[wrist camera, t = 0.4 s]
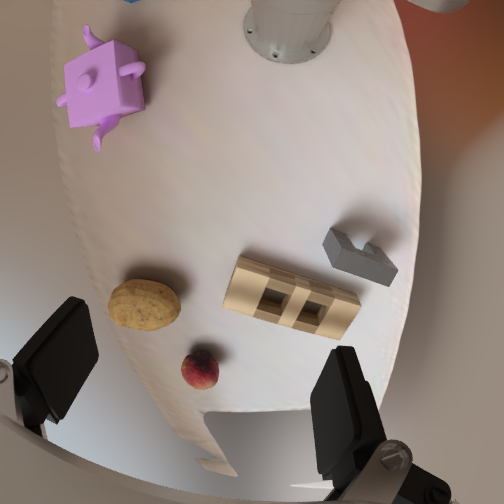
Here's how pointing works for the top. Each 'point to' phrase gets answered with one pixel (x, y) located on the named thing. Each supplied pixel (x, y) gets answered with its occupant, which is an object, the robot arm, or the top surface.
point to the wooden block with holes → (290, 299)
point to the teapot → (102, 85)
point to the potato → (143, 305)
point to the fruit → (200, 370)
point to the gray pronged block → (359, 259)
